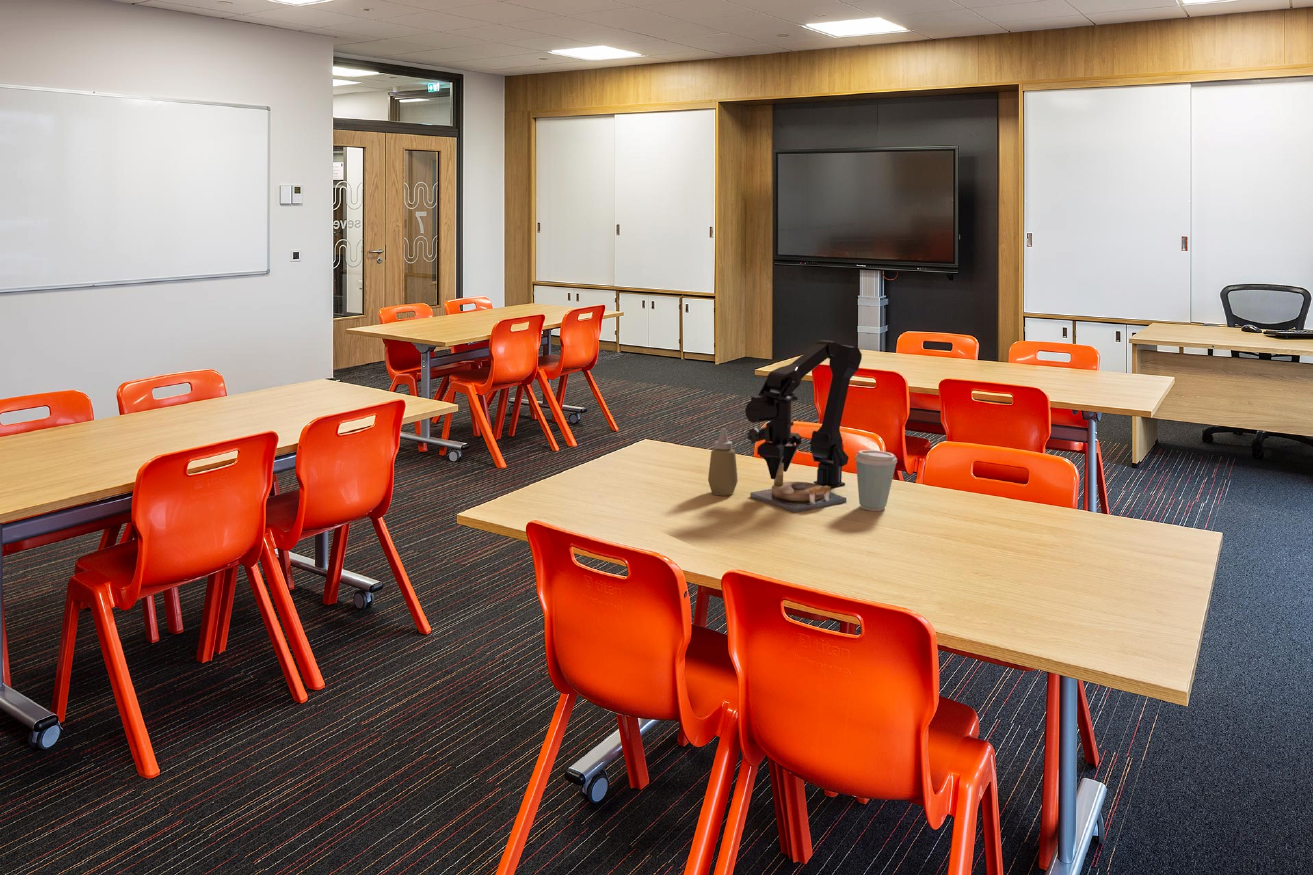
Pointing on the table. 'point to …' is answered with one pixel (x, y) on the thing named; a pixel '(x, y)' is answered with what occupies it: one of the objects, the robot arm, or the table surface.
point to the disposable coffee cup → (874, 478)
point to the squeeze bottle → (723, 467)
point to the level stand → (800, 505)
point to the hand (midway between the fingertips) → (778, 475)
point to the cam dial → (793, 488)
